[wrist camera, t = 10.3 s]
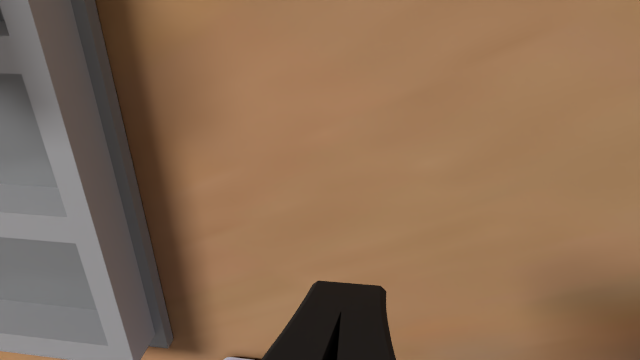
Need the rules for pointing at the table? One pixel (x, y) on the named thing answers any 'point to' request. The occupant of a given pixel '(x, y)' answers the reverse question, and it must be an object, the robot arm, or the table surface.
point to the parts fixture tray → (69, 195)
